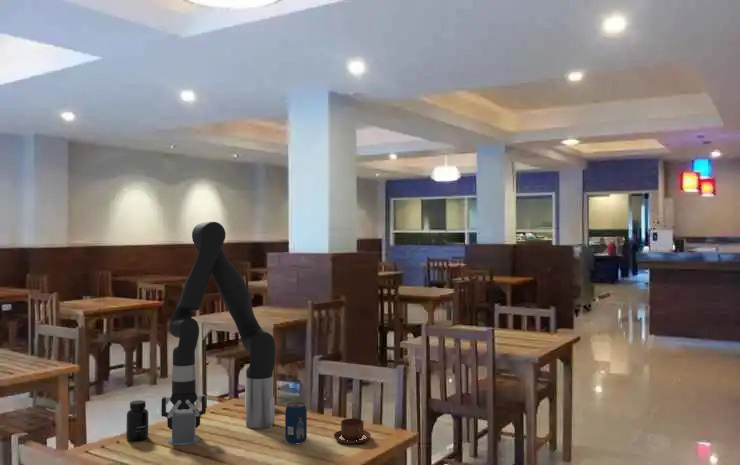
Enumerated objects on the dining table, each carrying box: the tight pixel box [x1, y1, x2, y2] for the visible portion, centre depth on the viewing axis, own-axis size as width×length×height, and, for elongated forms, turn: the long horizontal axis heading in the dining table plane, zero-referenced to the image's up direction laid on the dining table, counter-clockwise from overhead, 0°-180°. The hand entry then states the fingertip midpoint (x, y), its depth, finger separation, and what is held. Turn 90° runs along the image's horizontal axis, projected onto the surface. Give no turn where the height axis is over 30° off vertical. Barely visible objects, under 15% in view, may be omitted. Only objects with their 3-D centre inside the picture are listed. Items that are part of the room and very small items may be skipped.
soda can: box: [284, 401, 308, 445], centre depth 211 cm, size 7×7×12 cm
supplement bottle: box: [125, 399, 149, 442], centre depth 213 cm, size 7×7×12 cm
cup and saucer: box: [333, 418, 371, 444], centre depth 212 cm, size 12×12×6 cm
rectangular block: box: [171, 408, 196, 445], centre depth 213 cm, size 7×9×9 cm
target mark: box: [167, 434, 201, 446], centre depth 212 cm, size 10×10×1 cm
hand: (183, 428), depth 212 cm, fingers open, 7 cm apart
